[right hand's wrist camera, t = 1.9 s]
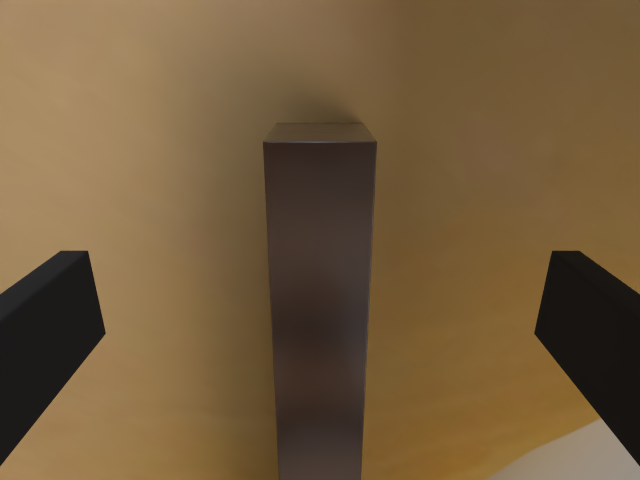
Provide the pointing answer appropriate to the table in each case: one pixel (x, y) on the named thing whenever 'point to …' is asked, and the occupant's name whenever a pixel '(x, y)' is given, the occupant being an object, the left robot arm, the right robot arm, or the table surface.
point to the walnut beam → (319, 292)
